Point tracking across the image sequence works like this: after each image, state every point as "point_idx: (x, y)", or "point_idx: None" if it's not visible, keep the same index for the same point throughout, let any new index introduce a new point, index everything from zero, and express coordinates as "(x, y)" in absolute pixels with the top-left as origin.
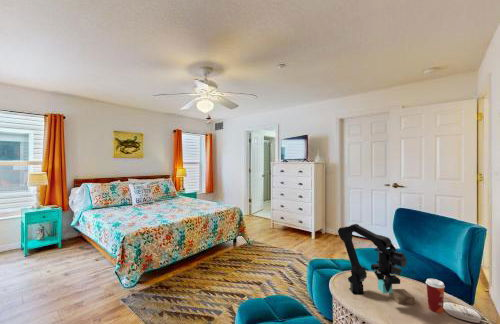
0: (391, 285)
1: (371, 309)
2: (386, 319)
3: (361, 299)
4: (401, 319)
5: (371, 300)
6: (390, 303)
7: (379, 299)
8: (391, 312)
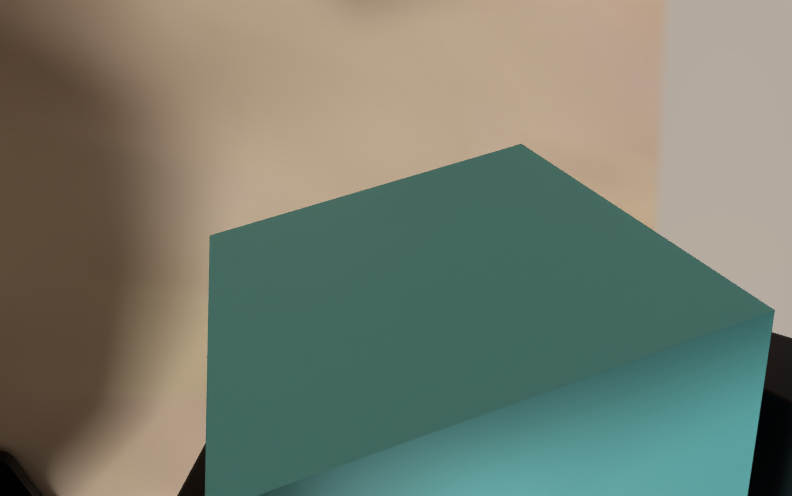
0: (699, 294)
1: None
2: (655, 228)
3: None
4: (665, 15)
5: (195, 350)
6: (192, 36)
7: (98, 219)
8: (500, 115)
